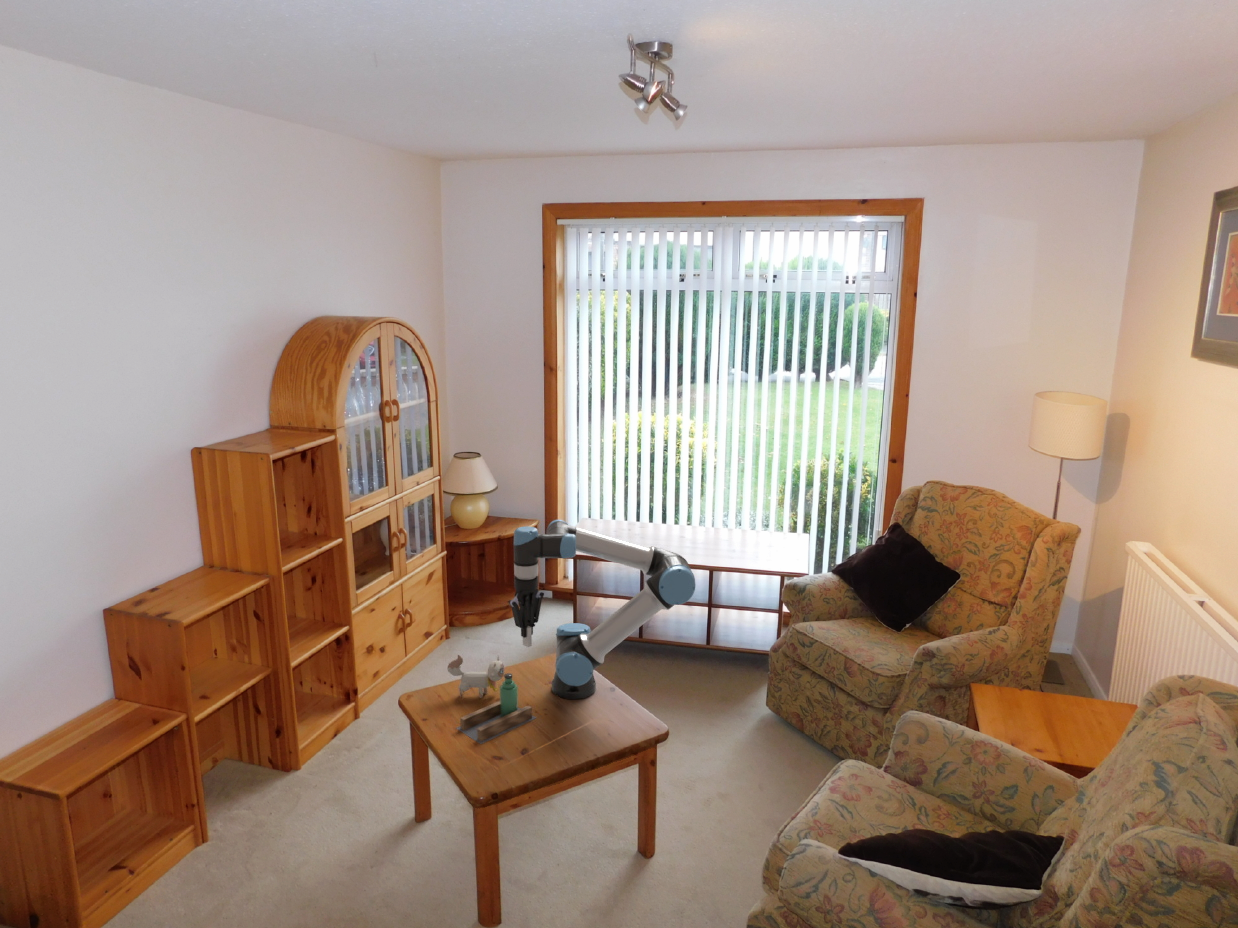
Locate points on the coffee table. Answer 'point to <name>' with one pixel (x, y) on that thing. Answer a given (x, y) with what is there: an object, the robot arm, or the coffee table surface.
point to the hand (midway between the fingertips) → (527, 645)
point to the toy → (477, 676)
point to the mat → (473, 730)
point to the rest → (498, 724)
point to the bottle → (508, 696)
